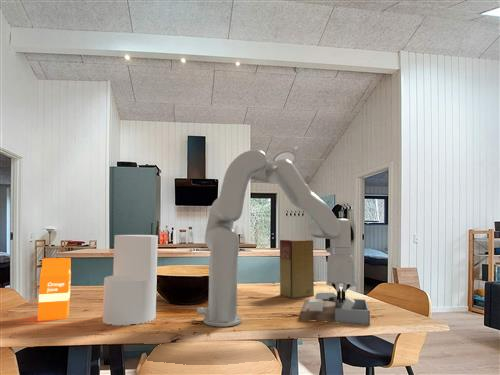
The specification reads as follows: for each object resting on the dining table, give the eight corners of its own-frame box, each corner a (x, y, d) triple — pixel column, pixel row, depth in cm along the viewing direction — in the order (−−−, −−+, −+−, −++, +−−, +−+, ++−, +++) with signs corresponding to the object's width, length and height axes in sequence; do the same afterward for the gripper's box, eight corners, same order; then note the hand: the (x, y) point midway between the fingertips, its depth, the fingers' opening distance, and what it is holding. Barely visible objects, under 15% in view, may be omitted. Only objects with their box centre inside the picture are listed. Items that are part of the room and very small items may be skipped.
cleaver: (347, 309, 144) (347, 303, 145) (322, 308, 145) (322, 303, 145) (333, 294, 174) (333, 290, 174) (312, 294, 174) (312, 290, 174)
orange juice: (41, 315, 130) (44, 257, 132) (69, 313, 133) (72, 256, 135) (37, 320, 123) (40, 259, 125) (66, 318, 126) (69, 258, 128)
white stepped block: (129, 310, 139) (132, 234, 141) (166, 315, 131) (168, 235, 133) (90, 320, 123) (94, 236, 126) (129, 328, 115) (132, 237, 118)
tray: (335, 322, 124) (335, 308, 124) (335, 310, 141) (335, 298, 142) (369, 325, 121) (369, 310, 122) (366, 311, 139) (365, 299, 139)
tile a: (347, 298, 134) (354, 302, 134) (347, 295, 139) (354, 300, 138) (340, 309, 135) (348, 313, 134) (341, 306, 139) (348, 310, 138)
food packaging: (301, 292, 176) (301, 239, 178) (315, 295, 168) (314, 240, 170) (278, 295, 169) (278, 239, 171) (291, 298, 161) (291, 240, 163)
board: (300, 320, 126) (300, 311, 127) (305, 308, 144) (305, 300, 144) (335, 322, 124) (335, 313, 124) (335, 310, 141) (335, 302, 141)
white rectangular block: (309, 310, 128) (309, 301, 128) (310, 307, 132) (310, 298, 132) (322, 311, 127) (322, 302, 127) (323, 308, 131) (322, 299, 131)
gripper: (319, 252, 137) (320, 303, 135) (361, 253, 133) (363, 305, 132) (320, 250, 144) (321, 298, 143) (360, 251, 141) (361, 301, 139)
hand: (341, 301), depth 137 cm, fingers closed
